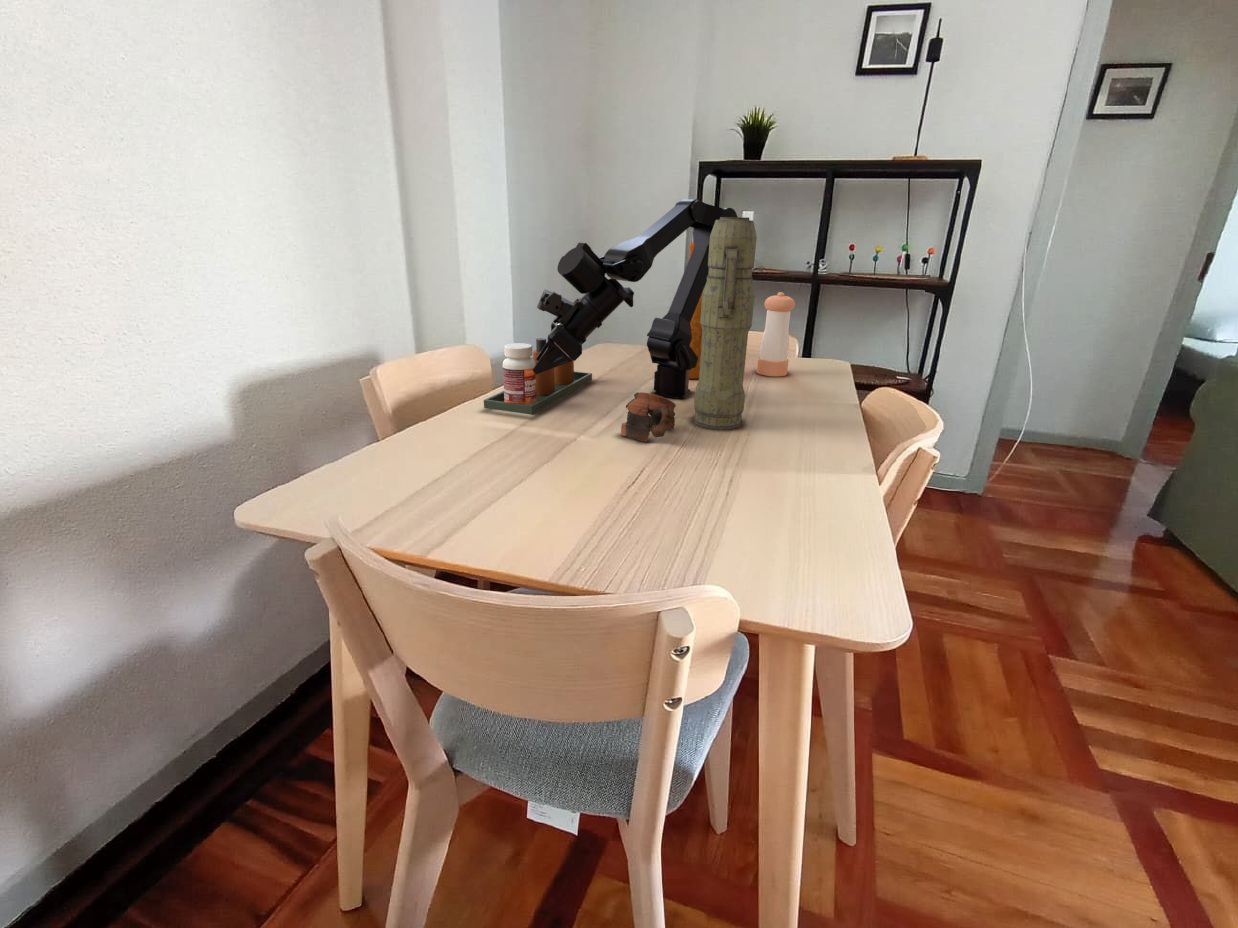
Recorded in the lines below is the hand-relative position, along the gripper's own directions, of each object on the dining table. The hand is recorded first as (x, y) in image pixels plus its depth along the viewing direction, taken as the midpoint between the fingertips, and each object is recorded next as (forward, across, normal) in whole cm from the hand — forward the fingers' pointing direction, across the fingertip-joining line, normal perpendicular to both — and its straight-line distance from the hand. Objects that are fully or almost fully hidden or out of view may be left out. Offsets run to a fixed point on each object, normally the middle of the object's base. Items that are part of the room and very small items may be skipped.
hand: (536, 366), depth 115 cm
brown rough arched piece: (-8, +16, +20) cm, 27 cm away
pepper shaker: (-33, -30, +45) cm, 63 cm away
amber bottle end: (+2, -17, +8) cm, 19 cm away
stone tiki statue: (-18, +8, +30) cm, 35 cm away
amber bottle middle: (+5, -8, +6) cm, 11 cm away
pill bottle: (+8, 0, +3) cm, 8 cm away
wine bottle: (-18, -28, +30) cm, 45 cm away
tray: (+6, -8, +6) cm, 12 cm away
